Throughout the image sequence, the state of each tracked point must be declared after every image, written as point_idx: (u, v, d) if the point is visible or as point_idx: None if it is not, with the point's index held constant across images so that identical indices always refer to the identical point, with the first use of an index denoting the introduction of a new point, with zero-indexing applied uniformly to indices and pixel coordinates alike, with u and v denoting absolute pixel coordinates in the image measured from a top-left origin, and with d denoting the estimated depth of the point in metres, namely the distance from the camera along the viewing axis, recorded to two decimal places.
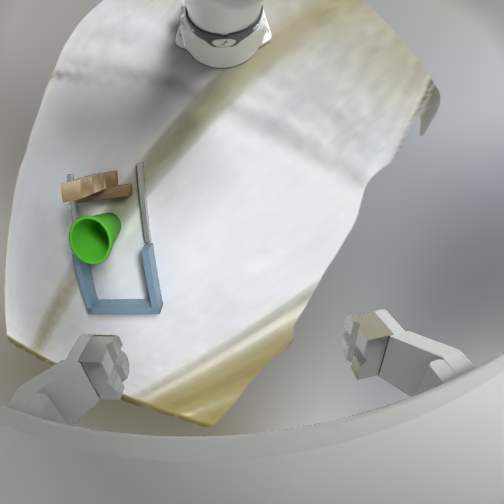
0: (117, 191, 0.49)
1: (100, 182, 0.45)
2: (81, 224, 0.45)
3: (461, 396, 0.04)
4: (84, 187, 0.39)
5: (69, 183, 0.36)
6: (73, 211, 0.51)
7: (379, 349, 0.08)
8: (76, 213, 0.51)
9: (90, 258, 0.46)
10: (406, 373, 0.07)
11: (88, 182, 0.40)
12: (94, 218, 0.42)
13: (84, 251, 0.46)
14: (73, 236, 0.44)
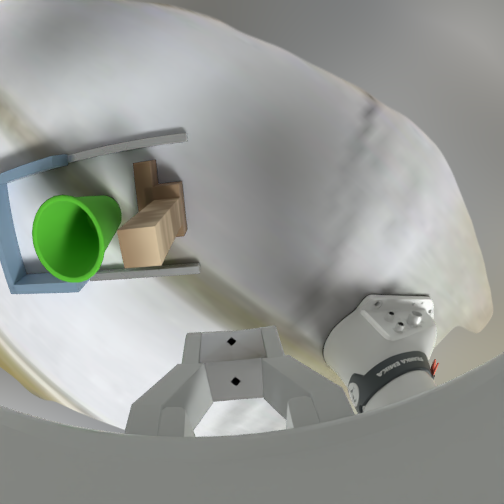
0: None
1: None
2: None
3: (461, 396, 0.04)
4: None
5: (155, 249, 0.20)
6: (121, 147, 0.29)
7: (253, 371, 0.08)
8: (119, 151, 0.30)
9: (40, 232, 0.23)
10: (284, 402, 0.07)
11: None
12: (101, 255, 0.24)
13: (50, 213, 0.24)
14: None
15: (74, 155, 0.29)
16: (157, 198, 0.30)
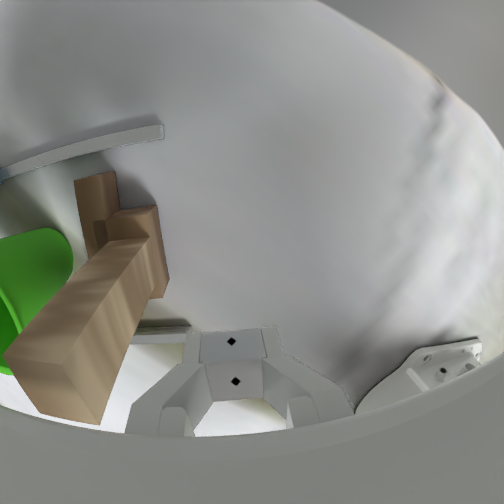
0: None
1: None
2: None
3: (461, 396, 0.04)
4: None
5: (79, 403, 0.07)
6: (62, 153, 0.17)
7: (253, 371, 0.08)
8: (61, 160, 0.17)
9: None
10: (284, 402, 0.07)
11: None
12: None
13: None
14: None
15: (6, 170, 0.16)
16: (114, 238, 0.17)
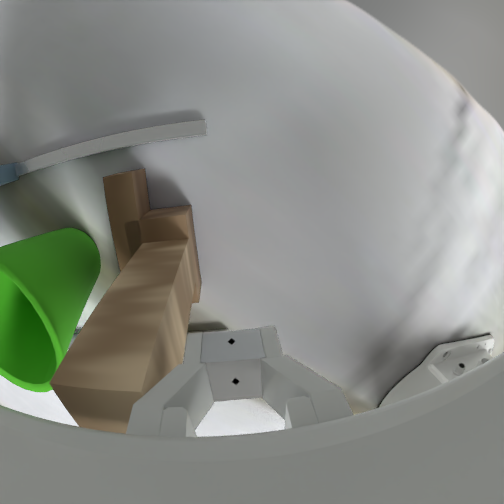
0: None
1: None
2: (34, 265, 0.11)
3: (461, 396, 0.04)
4: None
5: None
6: (92, 146, 0.16)
7: (252, 371, 0.08)
8: (90, 154, 0.17)
9: None
10: (283, 402, 0.07)
11: None
12: None
13: None
14: None
15: (24, 165, 0.16)
16: (148, 240, 0.17)
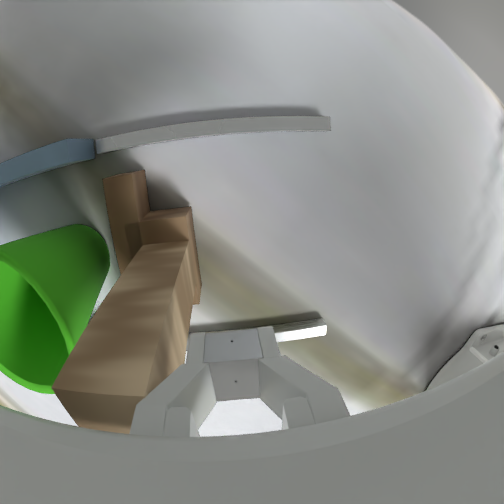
0: None
1: None
2: None
3: (461, 396, 0.04)
4: None
5: None
6: (210, 127, 0.17)
7: (250, 371, 0.08)
8: (202, 136, 0.17)
9: None
10: (280, 402, 0.07)
11: None
12: None
13: None
14: None
15: (110, 140, 0.16)
16: (149, 241, 0.17)
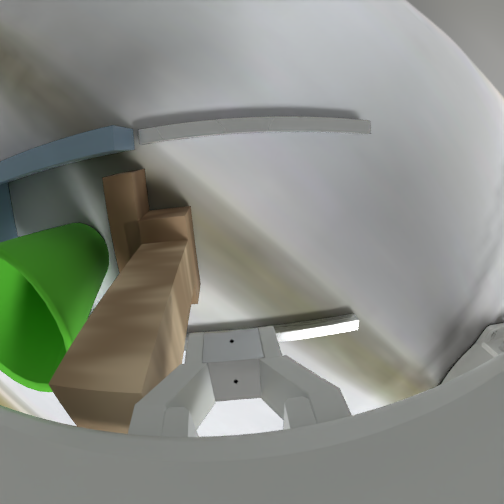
0: None
1: None
2: (47, 262, 0.11)
3: (461, 396, 0.04)
4: None
5: None
6: (260, 124, 0.17)
7: (251, 371, 0.08)
8: (251, 132, 0.18)
9: None
10: (281, 402, 0.07)
11: None
12: None
13: None
14: None
15: (155, 131, 0.16)
16: (148, 241, 0.17)
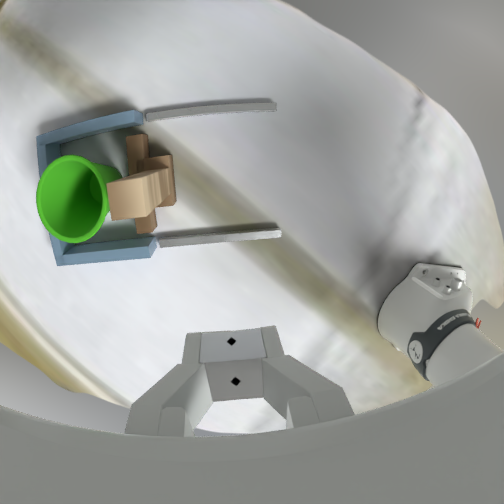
0: (142, 217, 0.32)
1: None
2: (97, 169, 0.25)
3: (461, 396, 0.04)
4: None
5: (141, 201, 0.20)
6: (210, 109, 0.31)
7: (254, 371, 0.08)
8: (206, 114, 0.31)
9: (44, 191, 0.23)
10: (284, 402, 0.07)
11: None
12: (103, 215, 0.24)
13: (56, 174, 0.24)
14: None
15: (155, 114, 0.30)
16: (148, 169, 0.30)
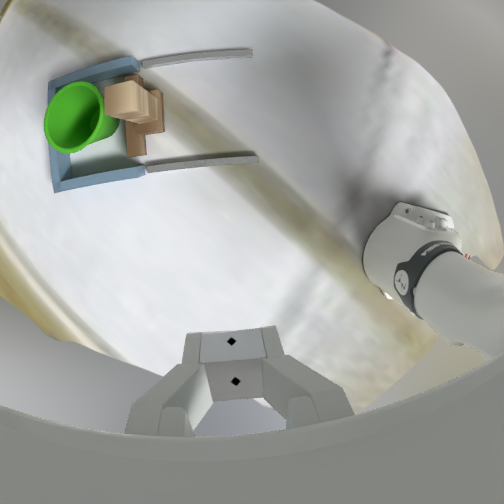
0: (133, 142, 0.34)
1: (144, 120, 0.31)
2: None
3: (461, 396, 0.04)
4: (128, 114, 0.25)
5: (130, 97, 0.22)
6: (196, 55, 0.32)
7: (254, 371, 0.08)
8: (192, 60, 0.33)
9: (52, 114, 0.25)
10: (284, 402, 0.07)
11: (137, 115, 0.26)
12: (98, 126, 0.26)
13: (63, 101, 0.26)
14: (82, 86, 0.24)
15: (149, 61, 0.32)
16: None
